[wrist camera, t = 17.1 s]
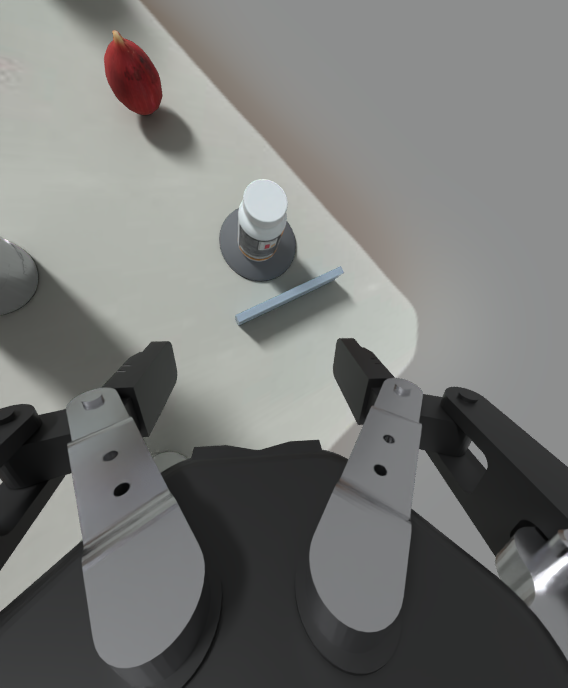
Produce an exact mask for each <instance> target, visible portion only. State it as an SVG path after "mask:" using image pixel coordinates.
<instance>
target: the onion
mask: <svg viewBox="0 0 568 688" xmlns="http://www.w3.org/2000/svg"><path fill="white" fill-rule="evenodd" d="M112 33H113V35H114V37H113V39H114V40H113V41H112V42H111V43H110V44H109V45H108V48H107V50H106V53H105V56H104V63H105V73H106V78H107V80H108V83H109V85H110V87H111V89H112V91H113V93H114V94H115V96H116V97H117V99H118V100H119V101H120V102H122V103H123V104H124V105H125V106H126V107H127V108H128V109H129V110H131V111H133V112H135V113H137V114H141V115H148V114H152V113H153V112H154V111H155V110H157V109H158V108H159V105H160V103H161V99H162V88H161V81H160V77H159V74H158V72H157V70H156V68H155V67H154V65H153V63H152V62H151V60H150V58H149V57H148V56H147V54H146V53H145V52H144V51H143V50H142V49H141V48H140V47H139V46H138V45H136V44H135V43H133V42H132V41H130V40H127V39H124V38H123V37H122V36H121V35H120V34H119V32H117V31H112Z"/></svg>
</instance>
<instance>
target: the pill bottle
mask: <svg viewBox="0 0 568 688" xmlns="http://www.w3.org/2000/svg"><path fill="white" fill-rule="evenodd" d="M287 205H288V203H287V197H286V194H285V192H284V191H283V189H282V188H281V187H280V186H279V185H278V184H277V183H275V182H273V181H271V180H267V179H258V180H255V181H253V182H251V183H250V184H249V185H248V186H247V188H246V189H245V192H244V196H243V201H242V202H241V204H240V207H239V210H238V236H237V237H238V245H239V248H240V250H241V252H242V253H243V254H244V255H245V256H246V257H247V258H249V259H250V260H253V261H265V260H268V259H269V258H271V257H272V256H273V255H274V253H275V252H276V250H277V247H278V245H279V242H280V239H281V236H282V234H283V231H284V229H285V226H286V221H287V215H286V211H287Z"/></svg>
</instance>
